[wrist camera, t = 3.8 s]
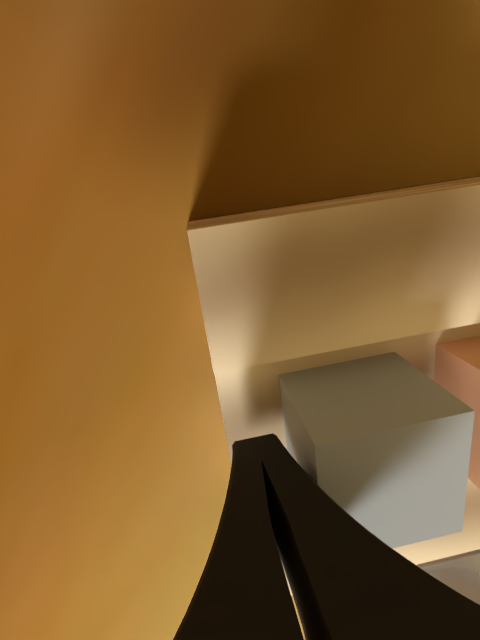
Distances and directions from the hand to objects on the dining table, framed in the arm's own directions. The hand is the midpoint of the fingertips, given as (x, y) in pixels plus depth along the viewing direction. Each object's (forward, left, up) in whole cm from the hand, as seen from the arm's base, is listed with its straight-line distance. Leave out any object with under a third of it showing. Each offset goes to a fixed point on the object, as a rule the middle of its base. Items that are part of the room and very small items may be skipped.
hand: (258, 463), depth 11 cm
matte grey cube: (0, -3, -2) cm, 4 cm away
